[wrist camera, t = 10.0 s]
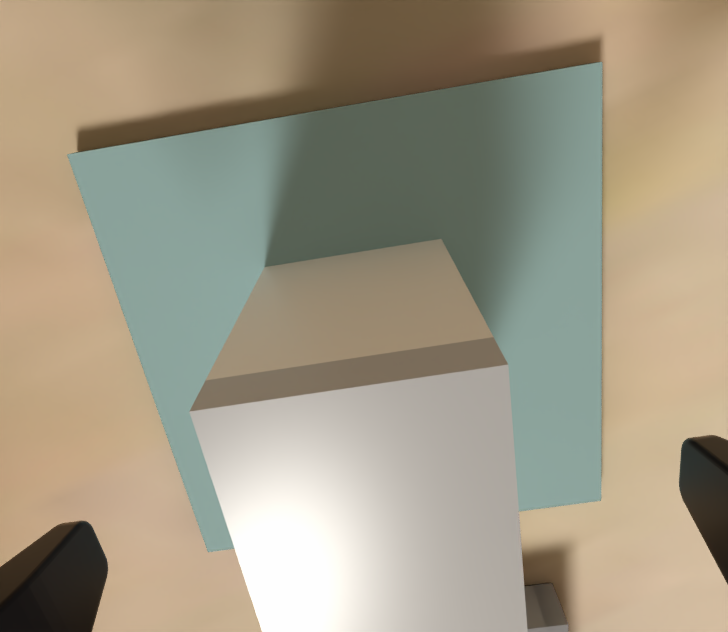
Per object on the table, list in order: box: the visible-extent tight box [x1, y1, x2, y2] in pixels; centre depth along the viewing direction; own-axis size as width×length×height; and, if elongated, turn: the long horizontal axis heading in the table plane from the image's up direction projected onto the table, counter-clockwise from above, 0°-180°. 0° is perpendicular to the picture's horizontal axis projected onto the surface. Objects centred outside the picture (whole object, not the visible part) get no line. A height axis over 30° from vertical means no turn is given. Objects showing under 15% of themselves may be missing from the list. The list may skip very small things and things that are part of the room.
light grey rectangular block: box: [189, 239, 528, 632], centre depth 11 cm, size 4×5×6 cm
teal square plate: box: [67, 62, 602, 552], centre depth 14 cm, size 11×11×1 cm
